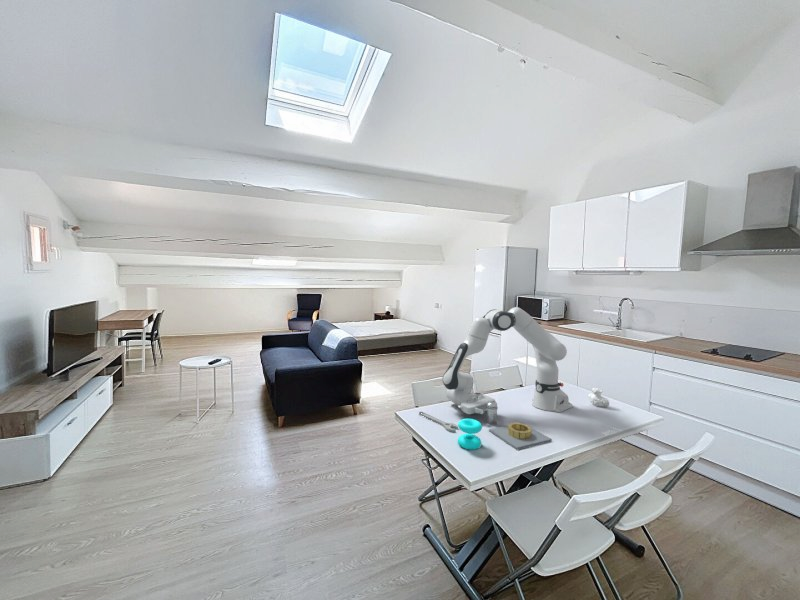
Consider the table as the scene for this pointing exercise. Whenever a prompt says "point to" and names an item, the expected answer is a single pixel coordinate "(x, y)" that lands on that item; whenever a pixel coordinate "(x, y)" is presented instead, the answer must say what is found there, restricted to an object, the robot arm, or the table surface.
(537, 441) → the plate
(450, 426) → the adjustable wrench
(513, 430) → the brass ring
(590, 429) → the table surface
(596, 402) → the duck figurine
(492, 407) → the cylinder
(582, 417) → the table surface
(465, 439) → the donuts
